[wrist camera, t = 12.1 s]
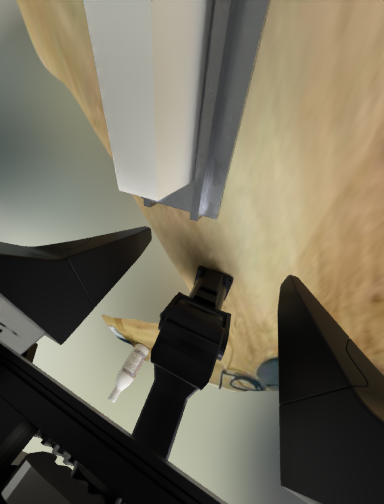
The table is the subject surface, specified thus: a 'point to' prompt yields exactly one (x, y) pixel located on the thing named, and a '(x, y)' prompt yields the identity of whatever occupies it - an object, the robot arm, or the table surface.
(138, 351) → the bath foam
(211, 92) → the track
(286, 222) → the table surface
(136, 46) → the door panel
